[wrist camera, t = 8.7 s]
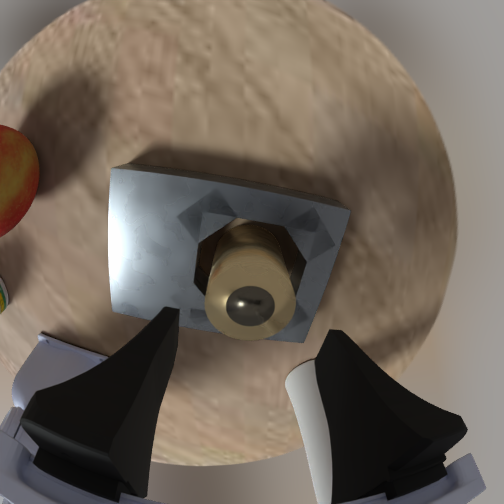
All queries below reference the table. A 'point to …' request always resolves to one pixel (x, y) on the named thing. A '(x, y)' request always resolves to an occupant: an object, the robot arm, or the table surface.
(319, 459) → the cosmetic bottle
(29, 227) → the table surface
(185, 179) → the plate
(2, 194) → the apple
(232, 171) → the table surface
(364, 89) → the table surface
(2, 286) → the supplement bottle
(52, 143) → the table surface
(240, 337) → the bushing
